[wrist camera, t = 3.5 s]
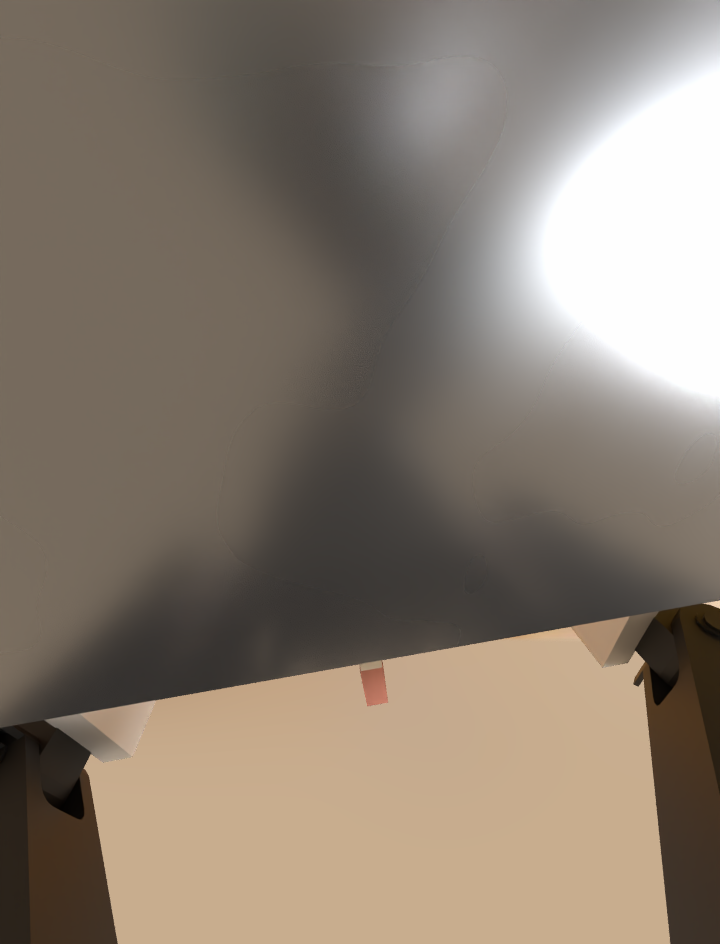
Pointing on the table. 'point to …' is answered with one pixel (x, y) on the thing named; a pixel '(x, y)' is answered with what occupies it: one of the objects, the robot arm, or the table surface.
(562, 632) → the table surface
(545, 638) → the table surface
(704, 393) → the dispenser
